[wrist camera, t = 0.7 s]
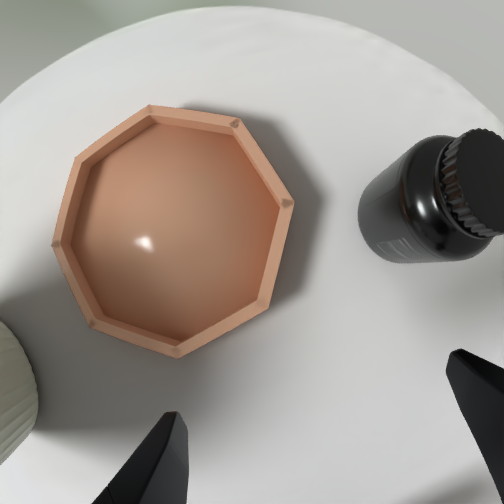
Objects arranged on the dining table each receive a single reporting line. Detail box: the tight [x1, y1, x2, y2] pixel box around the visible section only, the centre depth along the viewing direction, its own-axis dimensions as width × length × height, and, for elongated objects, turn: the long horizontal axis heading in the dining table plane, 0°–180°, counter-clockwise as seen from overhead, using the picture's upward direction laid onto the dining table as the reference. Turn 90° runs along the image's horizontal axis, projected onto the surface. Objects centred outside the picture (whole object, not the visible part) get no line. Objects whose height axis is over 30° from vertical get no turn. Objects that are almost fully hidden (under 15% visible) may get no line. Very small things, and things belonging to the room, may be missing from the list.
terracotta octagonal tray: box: [52, 104, 295, 359], centre depth 22 cm, size 17×17×2 cm
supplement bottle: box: [358, 128, 504, 263], centre depth 16 cm, size 7×7×12 cm
